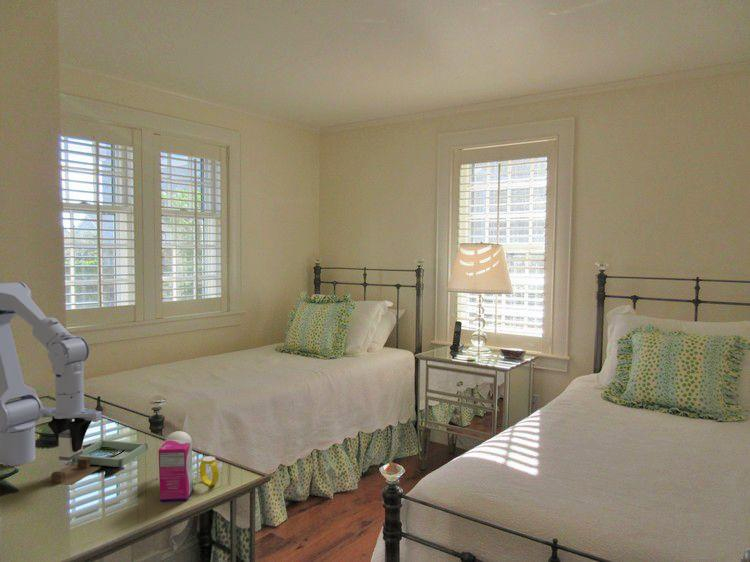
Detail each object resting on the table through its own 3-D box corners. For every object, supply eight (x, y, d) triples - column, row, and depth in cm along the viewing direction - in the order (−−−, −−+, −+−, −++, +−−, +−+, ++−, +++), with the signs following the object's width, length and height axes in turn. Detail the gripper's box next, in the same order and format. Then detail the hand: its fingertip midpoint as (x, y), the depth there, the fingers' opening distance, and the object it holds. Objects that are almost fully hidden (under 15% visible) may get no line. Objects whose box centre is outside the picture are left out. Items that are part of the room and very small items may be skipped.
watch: (221, 486, 126) (222, 461, 125) (210, 490, 123) (211, 465, 123) (207, 477, 130) (208, 452, 129) (196, 480, 128) (197, 455, 127)
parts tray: (72, 465, 135) (72, 455, 135) (101, 449, 146) (101, 439, 146) (121, 470, 133) (121, 459, 133) (147, 453, 144) (147, 443, 143)
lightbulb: (183, 485, 125) (183, 437, 124) (158, 482, 126) (158, 435, 126) (197, 474, 131) (197, 428, 130) (173, 471, 132) (173, 426, 132)
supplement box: (166, 490, 123) (165, 439, 122) (193, 489, 123) (193, 438, 122) (158, 502, 117) (157, 449, 116) (187, 501, 118) (186, 448, 117)
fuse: (59, 459, 126) (58, 433, 126) (72, 452, 130) (72, 427, 130) (69, 460, 126) (68, 434, 125) (82, 453, 130) (82, 428, 129)
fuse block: (39, 485, 124) (39, 472, 124) (71, 467, 134) (71, 456, 134) (71, 488, 123) (71, 476, 122) (101, 470, 132) (101, 458, 132)
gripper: (27, 394, 124) (29, 453, 125) (86, 398, 122) (87, 459, 123) (51, 386, 131) (52, 442, 132) (107, 390, 129) (108, 447, 130)
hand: (70, 449), depth 128 cm, fingers closed on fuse, 3 cm apart
